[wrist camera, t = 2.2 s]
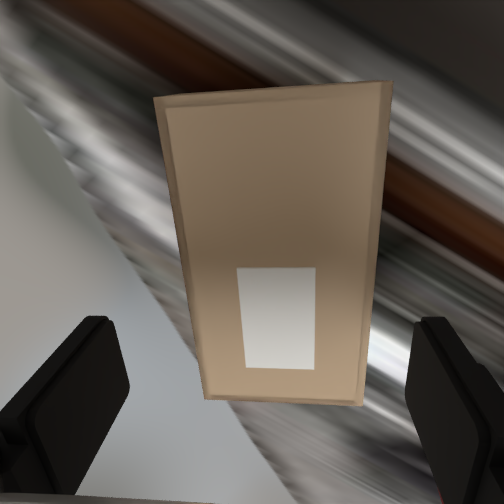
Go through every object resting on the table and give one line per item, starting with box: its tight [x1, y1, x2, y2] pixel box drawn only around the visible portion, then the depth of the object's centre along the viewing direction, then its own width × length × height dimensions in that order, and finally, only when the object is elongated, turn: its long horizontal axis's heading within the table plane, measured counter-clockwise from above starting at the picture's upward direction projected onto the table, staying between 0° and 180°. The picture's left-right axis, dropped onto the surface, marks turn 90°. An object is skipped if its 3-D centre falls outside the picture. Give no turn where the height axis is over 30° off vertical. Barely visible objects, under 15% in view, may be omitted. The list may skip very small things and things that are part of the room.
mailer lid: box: [153, 80, 393, 406], centre depth 15 cm, size 13×7×3 cm, turn 4°
